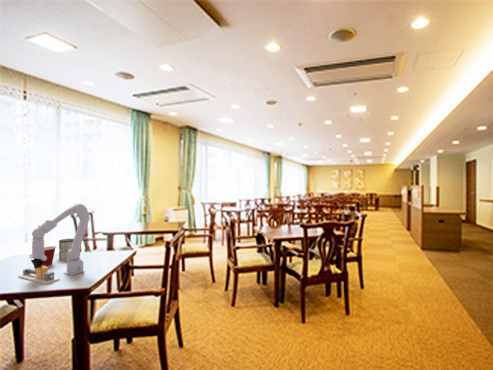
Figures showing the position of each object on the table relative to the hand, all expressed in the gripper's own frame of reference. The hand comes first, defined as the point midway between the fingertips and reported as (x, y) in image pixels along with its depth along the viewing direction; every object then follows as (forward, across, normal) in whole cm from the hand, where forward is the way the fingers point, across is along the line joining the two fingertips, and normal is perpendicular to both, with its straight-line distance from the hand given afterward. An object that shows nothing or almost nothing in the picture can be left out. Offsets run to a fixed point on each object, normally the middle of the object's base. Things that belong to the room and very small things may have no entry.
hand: (38, 271), depth 165 cm
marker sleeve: (+3, +4, 0) cm, 5 cm away
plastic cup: (+5, -27, +19) cm, 34 cm away
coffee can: (+5, -32, +36) cm, 49 cm away
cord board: (+4, +1, 0) cm, 4 cm away
